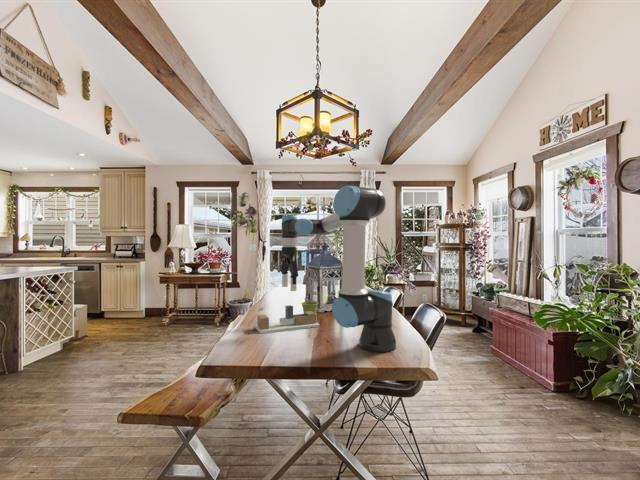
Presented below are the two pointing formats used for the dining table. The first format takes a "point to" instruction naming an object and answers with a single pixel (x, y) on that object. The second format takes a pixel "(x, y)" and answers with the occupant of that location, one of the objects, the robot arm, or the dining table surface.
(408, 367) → the dining table surface
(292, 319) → the slide bar
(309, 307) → the plant pot
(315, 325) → the board
